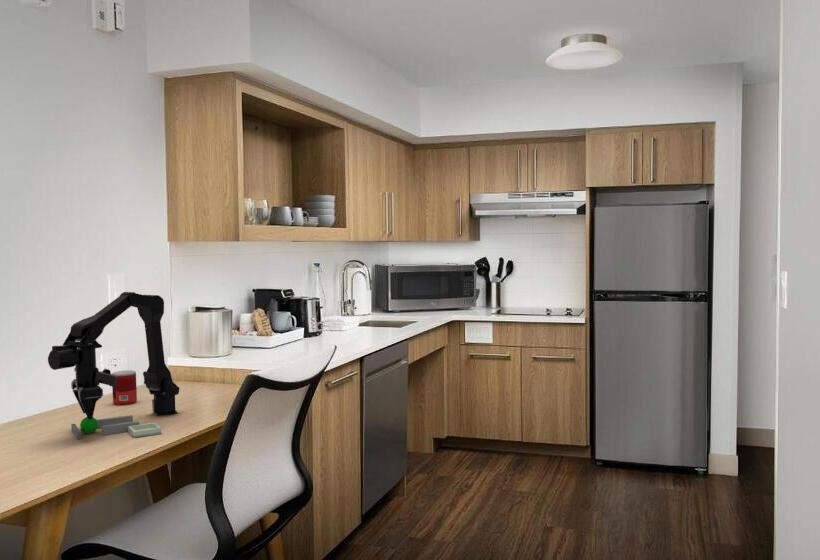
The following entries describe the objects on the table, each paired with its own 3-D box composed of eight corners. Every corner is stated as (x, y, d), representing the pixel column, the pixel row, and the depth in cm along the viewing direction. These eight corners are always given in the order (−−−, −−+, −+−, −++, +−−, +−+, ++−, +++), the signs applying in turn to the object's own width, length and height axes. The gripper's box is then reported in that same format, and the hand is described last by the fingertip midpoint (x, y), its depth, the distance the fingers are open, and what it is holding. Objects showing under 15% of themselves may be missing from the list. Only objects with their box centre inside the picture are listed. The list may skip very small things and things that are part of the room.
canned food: (141, 402, 268) (140, 371, 267) (122, 406, 261) (121, 375, 260) (127, 399, 272) (126, 369, 271) (108, 404, 265) (107, 373, 264)
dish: (155, 428, 230) (155, 422, 230) (161, 433, 223) (161, 427, 223) (127, 432, 226) (127, 426, 226) (133, 438, 219) (133, 431, 219)
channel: (131, 422, 238) (131, 414, 238) (140, 430, 228) (139, 422, 228) (71, 430, 229) (71, 422, 229) (77, 439, 219) (77, 430, 218)
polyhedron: (80, 431, 227) (79, 416, 227) (98, 430, 229) (97, 414, 229) (80, 435, 223) (79, 419, 222) (98, 433, 225) (97, 418, 224)
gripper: (120, 366, 221) (122, 418, 222) (108, 357, 237) (110, 406, 238) (79, 370, 215) (81, 424, 216) (70, 361, 231) (72, 411, 232)
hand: (87, 416), depth 225 cm, fingers open, 9 cm apart
